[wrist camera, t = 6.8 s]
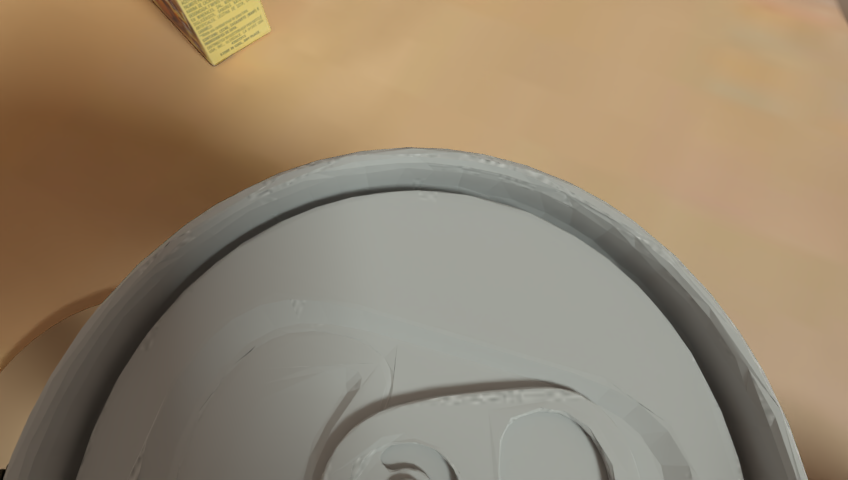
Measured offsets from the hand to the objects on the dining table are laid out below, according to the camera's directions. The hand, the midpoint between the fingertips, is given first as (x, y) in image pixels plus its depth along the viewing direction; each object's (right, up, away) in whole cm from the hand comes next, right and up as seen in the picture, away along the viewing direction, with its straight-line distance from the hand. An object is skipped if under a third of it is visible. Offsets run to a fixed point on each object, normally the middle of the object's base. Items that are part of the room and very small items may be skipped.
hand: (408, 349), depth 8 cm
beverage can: (0, -3, +6) cm, 7 cm away
